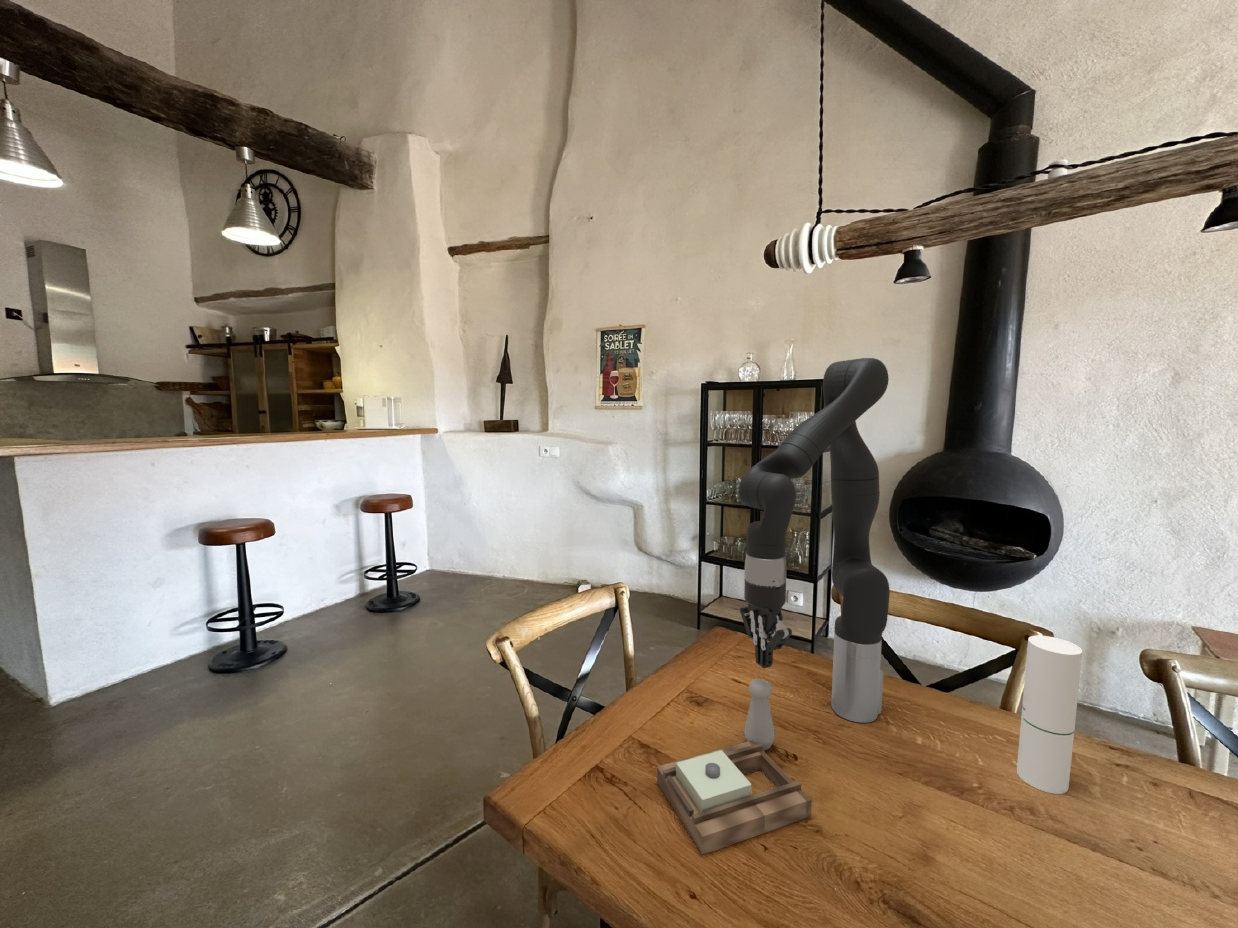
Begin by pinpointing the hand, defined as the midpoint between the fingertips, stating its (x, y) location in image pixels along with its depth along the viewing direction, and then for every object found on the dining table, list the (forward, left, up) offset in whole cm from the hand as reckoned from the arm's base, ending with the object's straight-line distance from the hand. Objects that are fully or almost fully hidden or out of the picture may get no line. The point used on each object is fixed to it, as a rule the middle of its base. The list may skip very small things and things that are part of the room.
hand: (763, 664), depth 99 cm
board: (+13, +9, -17) cm, 23 cm away
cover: (+17, +9, -14) cm, 23 cm away
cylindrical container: (-41, +25, -17) cm, 51 cm away
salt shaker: (0, -1, -17) cm, 17 cm away
